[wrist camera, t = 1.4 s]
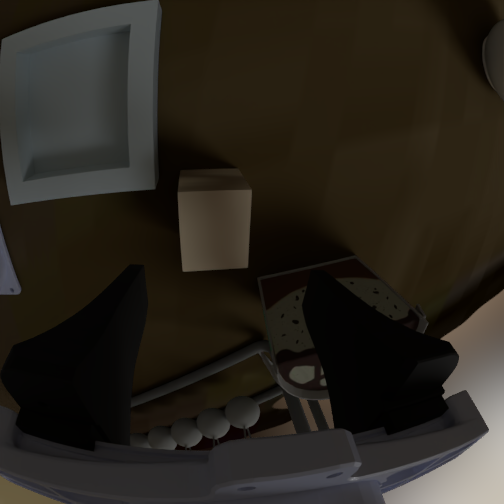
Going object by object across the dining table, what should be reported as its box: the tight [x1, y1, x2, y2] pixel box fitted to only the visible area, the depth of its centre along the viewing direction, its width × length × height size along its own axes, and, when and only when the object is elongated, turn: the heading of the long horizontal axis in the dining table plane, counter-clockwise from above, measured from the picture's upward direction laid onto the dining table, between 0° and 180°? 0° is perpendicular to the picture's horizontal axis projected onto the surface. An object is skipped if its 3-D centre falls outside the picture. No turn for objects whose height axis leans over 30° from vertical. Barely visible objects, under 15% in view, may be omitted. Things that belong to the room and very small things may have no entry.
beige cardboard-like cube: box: [178, 169, 252, 272], centre depth 19 cm, size 4×5×5 cm
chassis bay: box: [0, 0, 162, 205], centre depth 14 cm, size 11×12×2 cm
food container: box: [257, 255, 428, 400], centre depth 23 cm, size 12×6×10 cm, turn 96°
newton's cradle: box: [130, 340, 329, 451], centre depth 25 cm, size 30×10×18 cm, turn 118°
